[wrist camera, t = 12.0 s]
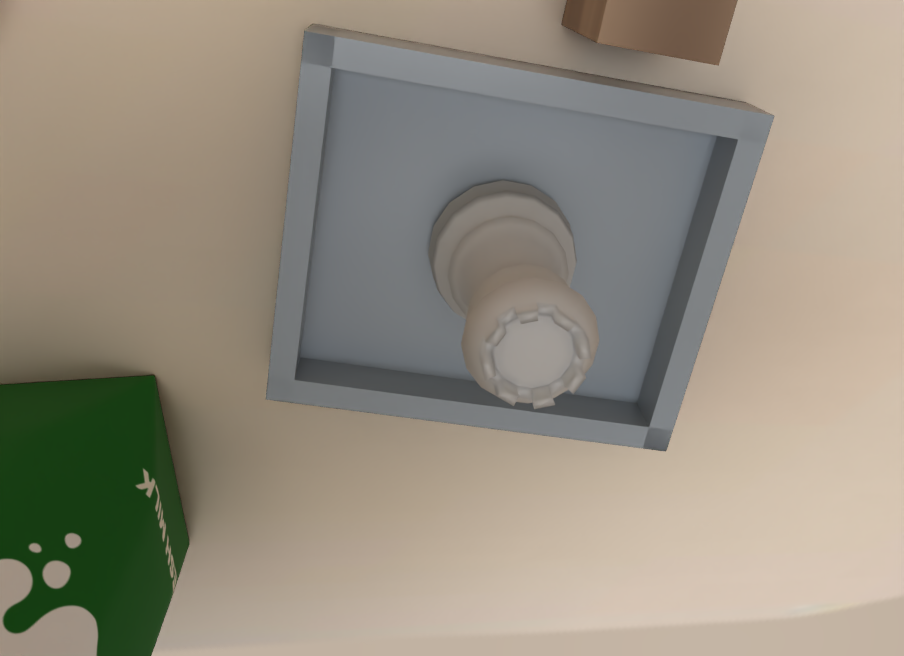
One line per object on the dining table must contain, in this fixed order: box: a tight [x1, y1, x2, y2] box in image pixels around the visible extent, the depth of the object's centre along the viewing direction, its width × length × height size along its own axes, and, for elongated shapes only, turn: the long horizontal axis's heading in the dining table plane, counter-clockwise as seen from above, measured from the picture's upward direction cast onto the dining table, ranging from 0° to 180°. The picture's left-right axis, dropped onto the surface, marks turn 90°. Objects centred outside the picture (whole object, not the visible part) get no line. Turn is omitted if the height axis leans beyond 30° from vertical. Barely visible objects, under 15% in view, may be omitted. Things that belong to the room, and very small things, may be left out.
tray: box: [266, 24, 774, 451], centre depth 26 cm, size 13×11×2 cm
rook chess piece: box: [428, 180, 599, 409], centre depth 23 cm, size 4×4×8 cm
